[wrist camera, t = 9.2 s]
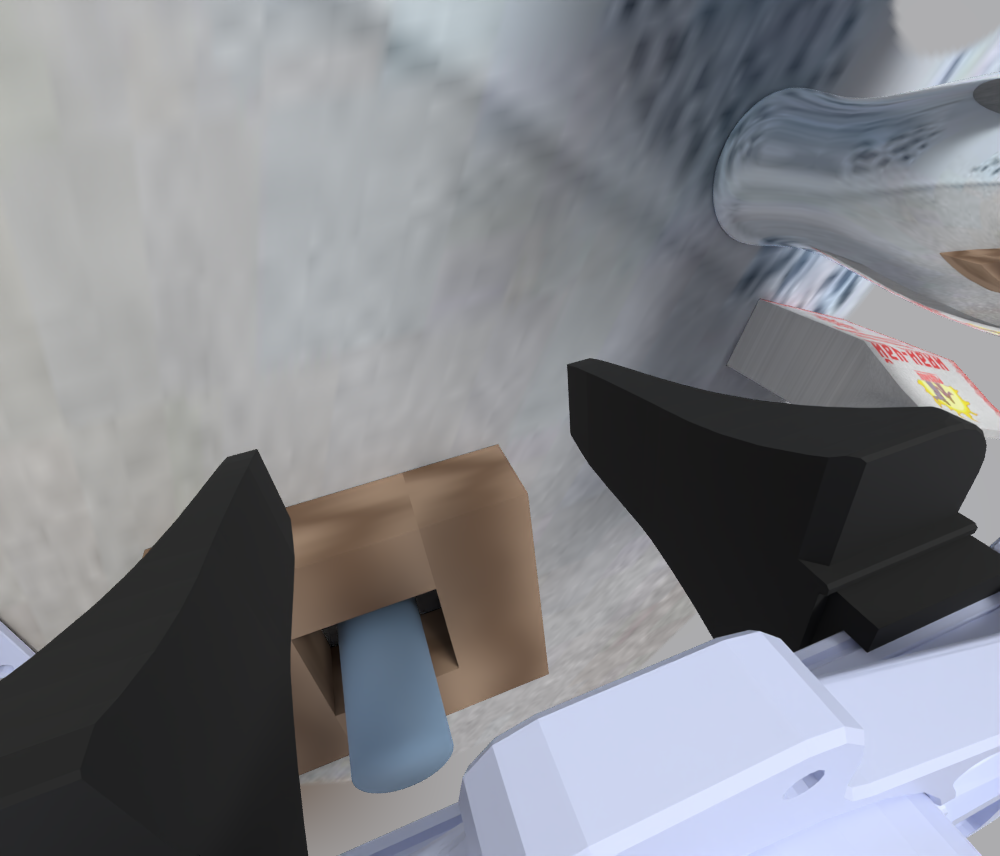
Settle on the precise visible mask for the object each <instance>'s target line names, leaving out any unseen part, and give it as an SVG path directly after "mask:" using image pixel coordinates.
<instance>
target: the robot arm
mask: <svg viewBox="0 0 1000 856" xmlns="http://www.w3.org/2000/svg"><path fill="white" fill-rule="evenodd" d="M567 371H568V391H569V411H570V432H571V436H572V437H573V439H574V441H575V442H576V444H577V446H578V447H579V449H580V451H581V452H582V454H583V456H584V457H585V459H586V460H587V462H588V463H589V465H590V466H591V467H592V469H593V470H594V471H595V472H596V473H597V475H598V476H599V477H600V478H601V480H602V481H603V482H604V483H605V484H606V486H607V487H608V488H609V489H610V490H611V491H612V493H613V494H614V495H615V496H616V497H617V499H618V500H619V501H620V502H621V503H622V504H623V506H624V507H625V508H626V509H627V510H628V512H629V513H630V514H631V515H632V516H633V517H634V519H635V520H636V521H637V522H638V523H639V525H640V526H641V527H642V528H643V530H644V531H645V532H646V534H647V535H648V536H649V537H650V539H651V540H652V542H653V543H654V545H655V546H656V548H657V549H658V550H659V552H660V553H661V555H662V556H663V558H664V559H665V561H666V562H667V564H668V565H669V567H670V568H671V570H672V571H673V573H674V575H675V576H676V578H677V579H678V581H679V583H680V584H681V586H682V587H683V589H684V591H685V592H686V594H687V595H688V597H689V599H690V600H691V602H692V603H693V605H694V607H695V608H696V610H697V612H698V613H699V615H700V617H701V618H702V620H703V622H704V624H705V625H706V627H707V629H708V630H709V632H710V634H711V636H712V637H713V640H710V641H708V642H706V643H704V644H701V645H698V646H696V647H694V648H691V649H689V650H687V651H684V652H682V653H680V654H678V655H675V656H673V657H670V658H668V659H665V660H663V661H661V662H658V663H656V664H653V665H651V666H649V667H646V668H644V669H642V670H639V671H637V672H634V673H632V674H630V675H627V676H625V677H623V678H620V679H618V680H615V681H613V682H611V683H608V684H606V685H604V686H601V687H599V688H596V689H594V690H592V691H589V692H587V693H585V694H582V695H580V696H578V697H575V698H573V699H570V700H568V701H566V702H563V703H561V704H559V705H556V706H554V707H551V708H549V709H547V710H544V711H542V712H540V713H537V714H535V715H533V716H531V717H530V718H528V719H526V720H524V721H523V722H521V723H519V724H518V725H516V726H514V727H512V728H511V729H509V730H507V731H506V732H504V733H502V734H500V735H499V736H497V737H495V738H494V739H493V740H492V741H491V742H490V743H489V745H488V746H487V747H486V748H485V749H484V750H483V751H482V752H481V753H480V754H479V755H478V756H477V758H476V759H475V760H474V761H473V762H472V763H471V764H470V765H469V766H468V768H467V770H466V772H465V774H464V776H463V779H462V785H461V790H460V796H459V802H457V803H455V804H452V805H450V806H448V807H446V808H443V809H441V810H439V811H437V812H434V813H432V814H430V815H428V816H425V817H423V818H421V819H419V820H416V821H414V822H412V823H410V824H407V825H405V826H403V827H401V828H399V829H396V830H394V831H392V832H389V833H387V834H385V835H383V836H380V837H378V838H376V839H374V840H372V841H369V842H367V843H365V844H362V845H360V846H358V847H356V848H353V849H351V850H349V851H347V852H344V853H342V854H340V855H338V856H982V855H981V854H980V853H979V852H978V851H977V850H976V848H974V846H973V845H972V844H971V843H970V842H969V841H968V840H967V839H966V838H967V837H969V836H971V835H972V834H974V833H975V832H977V831H978V830H980V829H981V828H983V827H985V826H986V825H988V824H989V823H991V822H992V821H994V820H995V819H997V818H999V817H1000V538H998V539H997V540H996V541H995V542H994V543H993V544H992V545H991V546H990V547H988V546H987V545H985V544H984V543H982V542H981V541H979V540H977V539H976V538H974V537H973V536H971V534H973V533H975V531H976V530H977V526H976V524H975V522H973V521H972V520H970V519H968V518H967V517H965V516H963V515H962V514H960V513H958V511H959V509H960V507H961V505H962V503H963V501H964V499H965V497H966V495H967V493H968V491H969V490H970V488H971V486H972V484H973V482H974V480H975V478H976V476H977V474H978V473H979V470H980V468H981V465H982V463H983V461H984V458H985V452H986V440H985V437H984V433H983V430H982V429H980V428H979V427H978V426H977V425H975V424H973V423H971V422H969V421H967V420H965V419H963V418H960V417H958V416H956V415H954V414H952V413H950V412H947V411H945V410H943V409H940V408H937V407H933V406H925V407H883V408H854V407H825V406H809V405H797V404H787V403H777V402H768V401H761V400H753V399H747V398H742V397H736V396H730V395H725V394H719V393H715V392H710V391H706V390H702V389H698V388H694V387H690V386H686V385H682V384H678V383H675V382H671V381H667V380H664V379H661V378H657V377H654V376H651V375H647V374H644V373H641V372H638V371H635V370H631V369H628V368H625V367H622V366H619V365H615V364H612V363H609V362H605V361H601V360H597V359H592V358H589V359H585V360H582V361H578V362H574V363H571V364H567ZM294 569H295V554H294V543H293V534H292V525H291V518H290V516H289V514H288V512H287V510H286V508H285V506H284V504H283V502H282V500H281V498H280V496H279V493H278V491H277V489H276V487H275V485H274V483H273V481H272V479H271V477H270V475H269V473H268V471H267V468H266V466H265V464H264V462H263V460H262V458H261V456H260V454H259V452H258V450H257V449H255V450H252V451H248V452H244V453H241V454H237V455H233V456H230V457H227V458H226V459H225V460H224V461H223V462H222V463H221V465H220V466H219V467H218V468H217V469H216V471H215V472H214V473H213V475H212V476H211V477H210V478H209V480H208V481H207V482H206V483H205V485H204V486H203V487H202V489H201V490H200V491H199V492H198V494H197V495H196V496H195V497H194V499H193V500H192V501H191V502H190V504H189V505H188V506H187V507H186V509H185V510H184V511H183V512H182V514H181V515H180V516H179V517H178V519H177V520H176V521H175V522H174V523H173V524H172V525H171V527H170V528H169V529H168V530H167V531H166V532H165V533H164V535H163V536H162V537H161V538H160V539H159V540H158V541H157V542H156V544H155V545H154V546H153V547H152V548H151V549H150V550H149V551H148V553H147V554H146V555H145V556H144V557H143V558H142V559H141V560H140V561H139V562H138V563H137V564H136V565H135V567H134V568H133V569H132V570H131V571H130V572H129V573H128V574H127V575H126V576H125V577H124V578H123V579H121V580H120V581H119V582H118V583H117V584H116V585H115V586H114V587H113V588H112V589H111V590H110V591H109V592H108V593H107V594H106V595H105V596H104V597H102V598H101V599H100V600H99V601H98V602H97V603H96V604H95V605H94V606H93V607H91V608H90V609H89V610H88V611H87V612H86V613H84V614H83V615H82V616H81V617H80V618H78V619H77V620H76V621H75V622H74V623H72V624H71V625H70V626H69V627H68V628H66V629H65V630H64V631H63V632H62V633H60V634H59V635H58V636H57V637H56V638H54V639H53V640H52V641H51V642H50V643H49V644H47V645H46V646H45V647H44V648H43V649H41V650H40V651H39V652H37V653H35V652H33V651H32V650H31V649H30V648H29V647H28V646H27V645H26V644H25V643H24V642H23V641H21V640H20V639H19V638H18V637H17V636H16V635H15V634H14V633H13V632H12V631H11V630H10V629H8V628H7V627H6V626H5V625H4V624H3V623H2V622H1V621H0V679H1V678H3V679H2V680H1V681H0V856H308V851H307V843H306V835H305V828H304V819H303V809H302V800H301V791H300V781H299V772H298V762H297V750H296V739H295V727H294V715H293V700H292V685H291V632H292V612H293V592H294ZM4 677H5V678H4Z"/></svg>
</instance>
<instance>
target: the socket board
mask: <svg viewBox="0 0 1000 856" xmlns="http://www.w3.org/2000/svg"><path fill="white" fill-rule="evenodd" d="M286 510H287V512H288V514H289V516H290V518H291V525H292V534H293V543H294V554H295V569H294V592H293V612H292V632H291V685H292V700H293V715H294V727H295V739H296V750H297V762H298V772H299V775H301V774H304V773H306V772H309V771H311V770H314V769H316V768H319V767H321V766H324V765H326V764H329V763H331V762H333V761H336V760H338V759H341V758H343V757H346V756H348V755H349V745H348V735H347V724H346V714H345V703H344V693H343V682H342V672H341V662H340V651H339V645H337V646H334V647H332V648H331V647H330V645H329V643H328V641H327V639H326V637H325V635H324V634H323V632H322V630H321V629H323V628H326V627H329V626H332V625H335V624H338V623H340V622H343V621H346V620H349V619H352V618H355V617H357V616H360V615H363V614H366V613H369V612H372V611H375V610H377V609H380V608H383V607H386V606H389V605H392V604H394V603H397V602H400V601H403V600H406V599H409V598H411V597H414V596H417V595H420V594H423V593H426V592H429V591H431V590H434V589H436V591H437V594H438V598H439V601H440V605H441V608H440V609H437V610H434V611H432V612H429V613H426V614H423V615H420V618H421V622H422V626H423V630H424V633H425V637H426V641H427V645H428V649H429V653H430V656H431V660H432V664H433V668H434V672H435V676H436V679H437V683H438V687H439V691H440V695H441V699H442V702H443V706H444V710H445V714H446V716H447V715H449V714H452V713H454V712H456V711H459V710H461V709H464V708H466V707H469V706H471V705H474V704H476V703H479V702H481V701H484V700H486V699H488V698H491V697H493V696H496V695H498V694H501V693H503V692H506V691H508V690H511V689H513V688H516V687H518V686H520V685H523V684H525V683H528V682H530V681H533V680H535V679H538V678H540V677H543V676H545V675H547V674H549V672H548V663H547V655H546V646H545V638H544V629H543V620H542V612H541V603H540V594H539V586H538V577H537V569H536V560H535V551H534V543H533V534H532V525H531V517H530V508H529V500H528V493H527V491H526V490H525V488H524V486H523V485H522V483H521V481H520V480H519V478H518V477H517V475H516V473H515V472H514V470H513V468H512V467H511V465H510V463H509V462H508V460H507V458H506V457H505V455H504V453H503V452H502V450H501V448H500V447H499V445H498V444H497V445H494V446H491V447H487V448H484V449H481V450H477V451H474V452H471V453H467V454H464V455H460V456H457V457H454V458H450V459H447V460H444V461H440V462H437V463H434V464H430V465H427V466H424V467H420V468H417V469H414V470H410V471H407V472H404V473H400V474H397V475H394V476H390V477H387V478H384V479H380V480H377V481H373V482H370V483H367V484H363V485H360V486H357V487H353V488H350V489H347V490H343V491H340V492H337V493H333V494H330V495H327V496H323V497H320V498H317V499H313V500H310V501H307V502H303V503H300V504H297V505H293V506H290V507H286ZM150 549H151V548H149V549H146V550H145V552H144V555H143V557H144V556H145V555H146V554H147V553H148V551H149V550H150ZM143 557H142V558H143Z"/></svg>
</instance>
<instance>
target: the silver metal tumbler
mask: <svg viewBox="0 0 1000 856" xmlns="http://www.w3.org/2000/svg"><path fill="white" fill-rule="evenodd" d="M713 203H714V209H715V213H716V216H717V219H718V221H719V223H720V225H721V227H722V228H723V230H724V231H725V232H726V233H727V234H728V235H729V236H730V237H732V238H733V239H735V240H736V241H738V242H741V243H744V244H749V245H758V246H785V247H794V248H799V249H803V250H807V251H810V252H813V253H815V254H818V255H821V256H823V257H825V258H827V259H829V260H831V261H833V262H835V263H837V264H839V265H841V266H843V267H845V268H846V269H848V270H850V271H852V272H854V273H855V274H857V275H859V276H861V277H863V278H864V279H866V280H868V281H870V282H872V283H874V284H876V285H877V286H879V287H881V288H883V289H885V290H887V291H889V292H890V293H892V294H894V295H896V296H898V297H900V298H902V299H904V300H906V301H908V302H911V303H913V304H915V305H917V306H919V307H921V308H924V309H926V310H928V311H930V312H932V313H935V314H936V315H939V316H941V317H944V318H947V319H950V320H952V321H955V322H958V323H961V324H963V325H966V326H969V327H972V328H975V329H977V330H980V331H983V332H986V333H989V334H992V335H996V336H1000V71H999V72H994V73H990V74H985V75H981V76H976V77H971V78H967V79H962V80H958V81H954V82H949V83H945V84H941V85H937V86H932V87H928V88H924V89H919V90H915V91H910V92H905V93H900V94H895V95H890V96H883V97H872V98H850V97H843V96H838V95H834V94H830V93H826V92H822V91H818V90H813V89H808V88H787V89H783V90H780V91H777V92H774V93H772V94H770V95H768V96H766V97H765V98H763V99H762V100H760V101H759V102H757V103H756V104H755V105H754V106H753V107H752V108H751V109H749V110H748V111H747V113H746V114H745V115H744V116H743V117H742V118H741V119H740V121H739V122H738V123H737V125H736V126H735V128H734V129H733V131H732V132H731V134H730V136H729V137H728V139H727V141H726V143H725V145H724V147H723V150H722V152H721V155H720V158H719V161H718V164H717V168H716V172H715V177H714V184H713Z"/></svg>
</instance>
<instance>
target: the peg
mask: <svg viewBox="0 0 1000 856" xmlns="http://www.w3.org/2000/svg"><path fill="white" fill-rule="evenodd" d="M337 630H338V641H339V651H340V662H341V672H342V682H343V693H344V703H345V714H346V724H347V735H348V745H349V756H350V766H351V777H352V782H353V784H354V786H355V787H356V788H358V789H359V790H361V791H364V792H368V793H388V792H393V791H397V790H401V789H404V788H407V787H410V786H412V785H415V784H417V783H419V782H421V781H423V780H425V779H427V778H428V777H430V776H431V775H433V774H434V773H435V772H437V771H438V770H439V769H440V768H441V767H442V766H443V765H444V764H445V763H446V762H447V761H448V759H449V758H450V756H451V754H452V752H453V741H452V737H451V733H450V729H449V725H448V722H447V718H446V714H445V710H444V706H443V702H442V699H441V695H440V691H439V687H438V683H437V679H436V676H435V672H434V668H433V664H432V660H431V656H430V653H429V649H428V645H427V641H426V637H425V633H424V630H423V626H422V622H421V618H420V614H419V610H418V607H417V603H416V599H415V596H414V597H411V598H409V599H406V600H403V601H400V602H397V603H394V604H392V605H389V606H386V607H383V608H380V609H377V610H375V611H372V612H369V613H366V614H363V615H360V616H357V617H355V618H352V619H349V620H346V621H343V622H340V623H338V624H337Z"/></svg>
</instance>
